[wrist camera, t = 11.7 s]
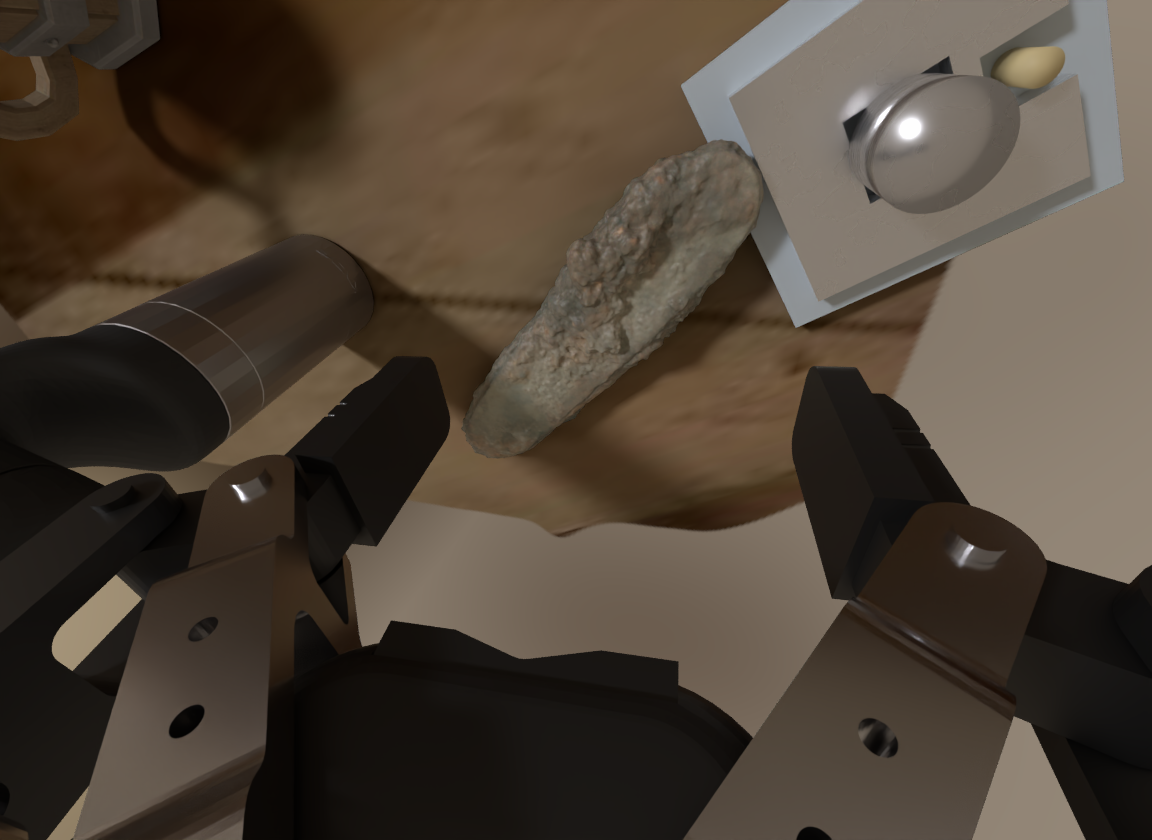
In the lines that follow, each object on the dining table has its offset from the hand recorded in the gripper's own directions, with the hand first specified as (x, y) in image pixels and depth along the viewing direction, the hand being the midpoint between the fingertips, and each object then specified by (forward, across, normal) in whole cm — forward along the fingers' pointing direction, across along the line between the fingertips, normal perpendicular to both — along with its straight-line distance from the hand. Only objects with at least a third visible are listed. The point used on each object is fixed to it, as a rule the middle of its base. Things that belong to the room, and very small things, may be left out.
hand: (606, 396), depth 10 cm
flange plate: (+26, -14, -2) cm, 29 cm away
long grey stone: (+27, +6, +12) cm, 30 cm away
